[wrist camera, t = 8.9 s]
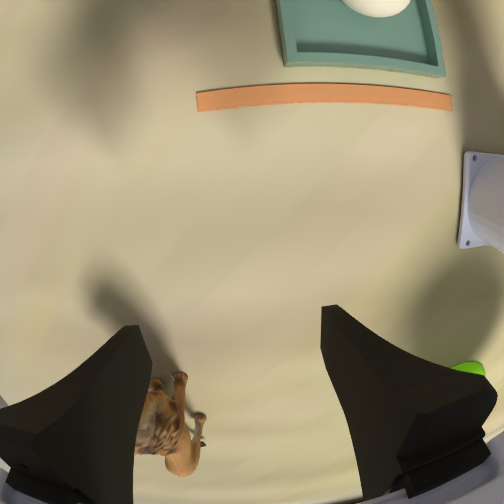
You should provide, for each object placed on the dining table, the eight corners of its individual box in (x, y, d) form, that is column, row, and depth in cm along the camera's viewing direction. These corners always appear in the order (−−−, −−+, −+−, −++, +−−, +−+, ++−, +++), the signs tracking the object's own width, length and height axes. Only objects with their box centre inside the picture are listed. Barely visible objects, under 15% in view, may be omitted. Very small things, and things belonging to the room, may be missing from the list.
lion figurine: (116, 351, 23) (82, 433, 15) (170, 340, 23) (148, 432, 14) (184, 442, 29) (178, 510, 20) (229, 437, 28) (230, 508, 20)
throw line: (450, 95, 16) (451, 95, 16) (451, 111, 17) (452, 110, 17) (196, 93, 16) (196, 93, 16) (198, 112, 17) (198, 111, 17)
